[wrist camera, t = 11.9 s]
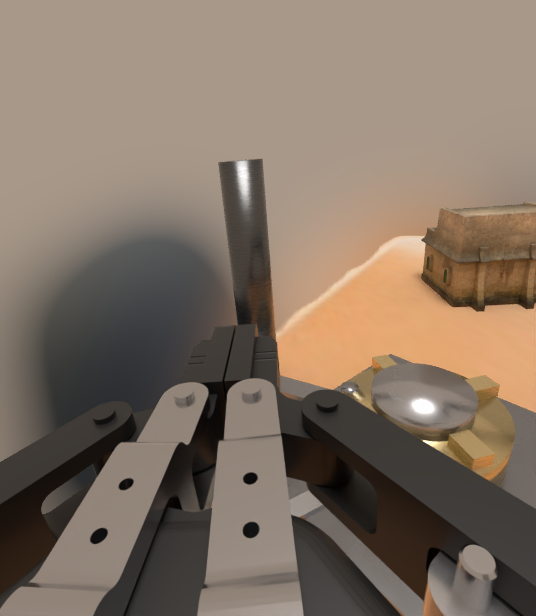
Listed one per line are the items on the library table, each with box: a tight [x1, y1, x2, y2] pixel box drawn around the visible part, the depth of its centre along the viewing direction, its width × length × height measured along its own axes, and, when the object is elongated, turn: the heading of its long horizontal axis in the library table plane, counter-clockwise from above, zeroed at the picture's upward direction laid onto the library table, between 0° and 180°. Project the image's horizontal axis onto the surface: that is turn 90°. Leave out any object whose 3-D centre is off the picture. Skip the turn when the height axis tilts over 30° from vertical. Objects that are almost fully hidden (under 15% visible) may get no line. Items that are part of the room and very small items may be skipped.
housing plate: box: [286, 354, 536, 616], centre depth 25 cm, size 19×18×1 cm
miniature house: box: [421, 202, 536, 312], centre depth 49 cm, size 15×14×11 cm
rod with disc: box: [218, 159, 515, 488], centre depth 23 cm, size 18×10×18 cm, turn 58°
